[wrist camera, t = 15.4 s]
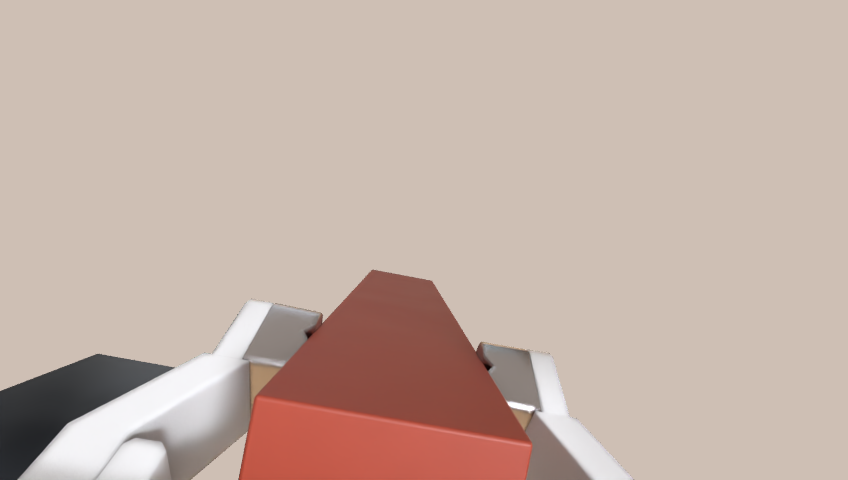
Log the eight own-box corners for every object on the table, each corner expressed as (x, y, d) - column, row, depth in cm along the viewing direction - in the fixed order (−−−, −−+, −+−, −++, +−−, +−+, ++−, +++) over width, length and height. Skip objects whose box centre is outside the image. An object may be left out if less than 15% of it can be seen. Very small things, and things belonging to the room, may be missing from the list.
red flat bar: (427, 305, 24) (432, 280, 24) (513, 557, 5) (535, 444, 5) (367, 294, 24) (371, 269, 24) (230, 512, 5) (252, 395, 5)
